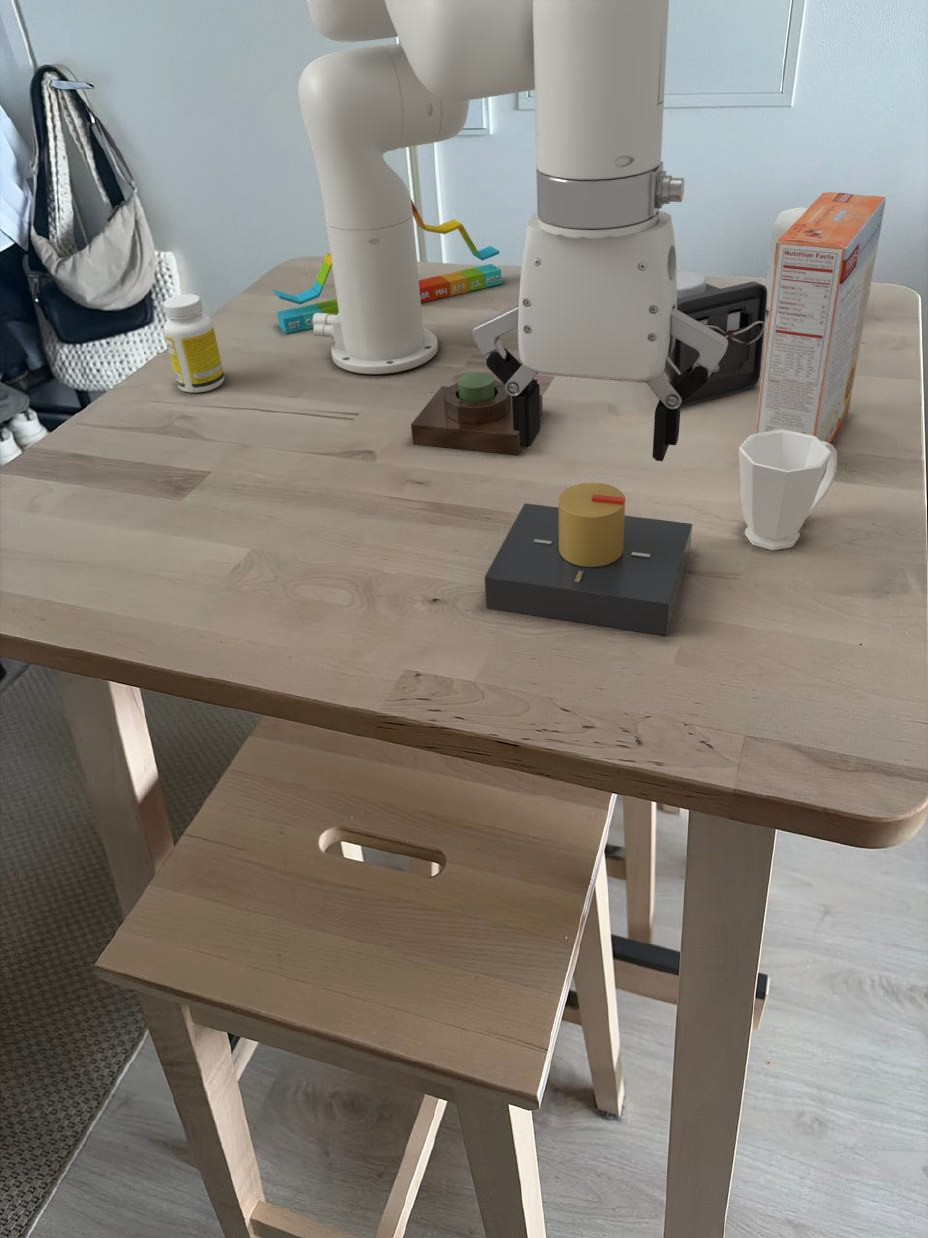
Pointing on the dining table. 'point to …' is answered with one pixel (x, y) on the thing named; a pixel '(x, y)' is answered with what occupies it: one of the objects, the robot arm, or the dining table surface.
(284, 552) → the dining table surface
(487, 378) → the switch
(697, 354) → the light fixture
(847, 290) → the cracker box
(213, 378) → the supplement bottle
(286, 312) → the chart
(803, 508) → the cup
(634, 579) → the dimmer panel
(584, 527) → the dimmer
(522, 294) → the robot arm
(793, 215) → the photo printer
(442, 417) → the lamp base
